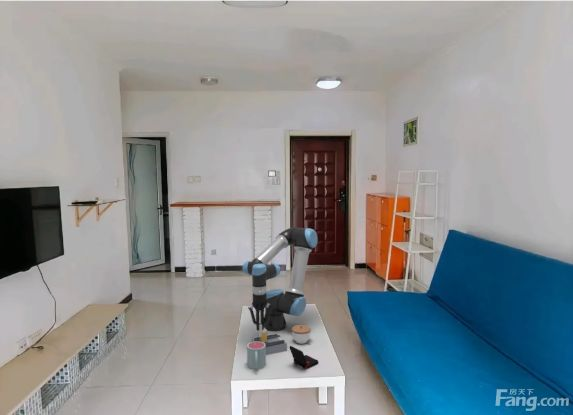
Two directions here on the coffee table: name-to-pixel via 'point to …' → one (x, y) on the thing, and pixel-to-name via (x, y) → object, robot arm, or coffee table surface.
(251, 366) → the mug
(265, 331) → the handle
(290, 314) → the robot arm
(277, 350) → the switch panel
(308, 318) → the coffee table surface
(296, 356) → the handheld gaming console
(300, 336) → the lidded jar
